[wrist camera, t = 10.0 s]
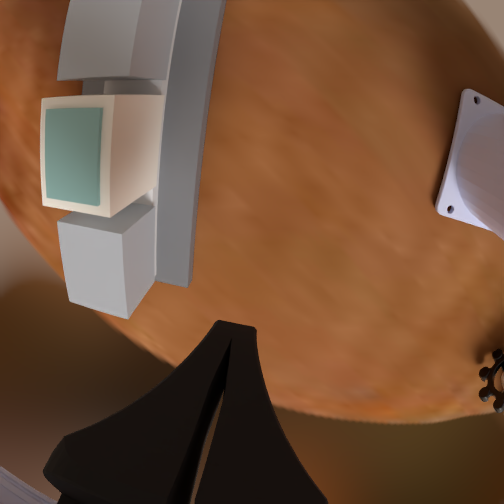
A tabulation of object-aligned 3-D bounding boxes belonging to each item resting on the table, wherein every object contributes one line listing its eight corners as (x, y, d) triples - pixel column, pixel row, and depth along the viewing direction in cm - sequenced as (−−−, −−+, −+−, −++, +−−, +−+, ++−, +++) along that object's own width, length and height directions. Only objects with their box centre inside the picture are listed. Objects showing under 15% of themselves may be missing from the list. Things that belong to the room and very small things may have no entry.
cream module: (164, 95, 14) (112, 95, 10) (156, 186, 17) (107, 219, 12) (101, 94, 14) (39, 98, 10) (96, 177, 17) (40, 206, 12)
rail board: (232, -31, 12) (207, -78, 7) (192, 280, 21) (162, 335, 16) (110, -21, 12) (56, -46, 7) (92, 257, 21) (47, 299, 16)
